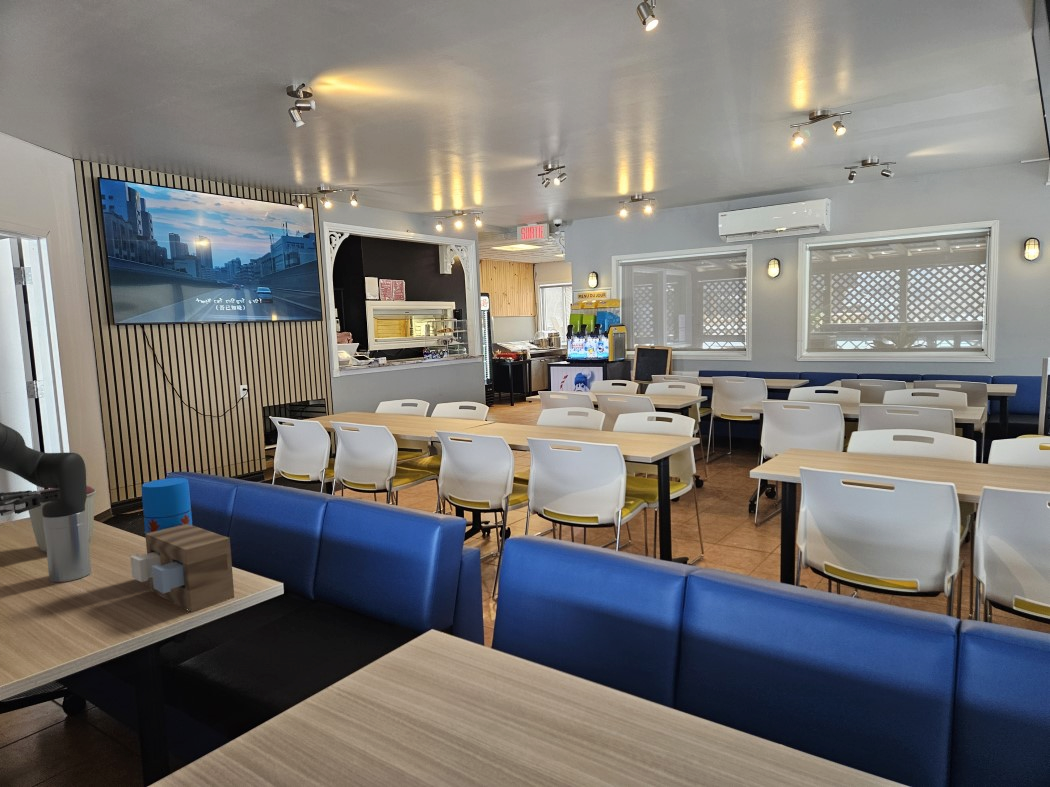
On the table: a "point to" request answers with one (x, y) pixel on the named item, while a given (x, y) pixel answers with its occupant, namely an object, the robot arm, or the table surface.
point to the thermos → (166, 504)
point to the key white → (144, 565)
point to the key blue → (168, 576)
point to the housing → (195, 565)
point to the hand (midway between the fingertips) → (61, 493)
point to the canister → (38, 523)
